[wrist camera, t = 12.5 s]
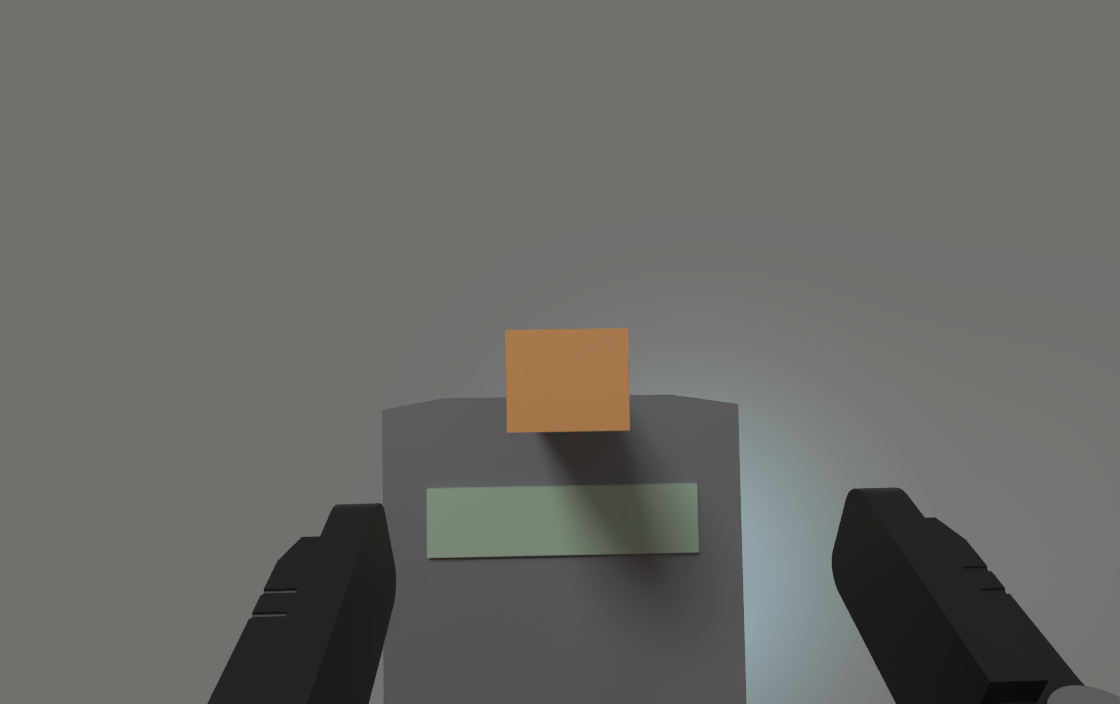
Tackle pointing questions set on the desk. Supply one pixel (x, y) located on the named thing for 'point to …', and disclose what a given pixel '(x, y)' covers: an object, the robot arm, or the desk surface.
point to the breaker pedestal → (564, 557)
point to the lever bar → (567, 380)
